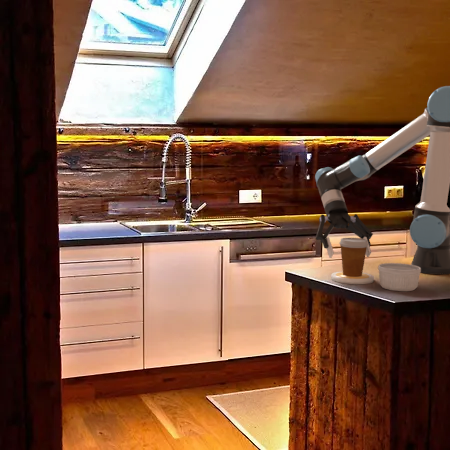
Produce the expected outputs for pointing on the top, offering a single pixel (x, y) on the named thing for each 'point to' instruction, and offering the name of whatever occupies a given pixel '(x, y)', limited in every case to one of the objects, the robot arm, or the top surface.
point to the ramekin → (399, 276)
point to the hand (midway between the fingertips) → (350, 255)
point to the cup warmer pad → (352, 278)
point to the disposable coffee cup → (353, 256)
